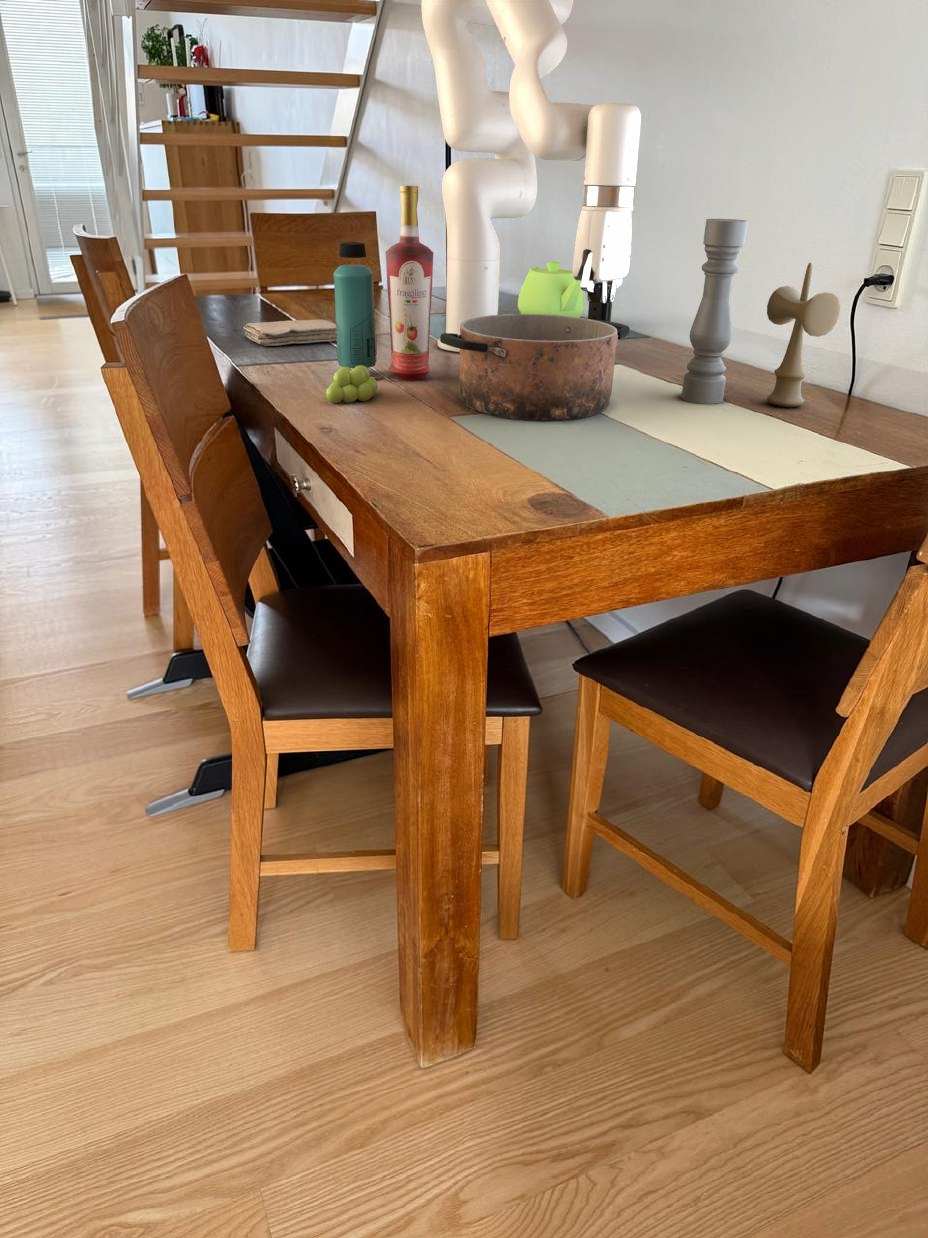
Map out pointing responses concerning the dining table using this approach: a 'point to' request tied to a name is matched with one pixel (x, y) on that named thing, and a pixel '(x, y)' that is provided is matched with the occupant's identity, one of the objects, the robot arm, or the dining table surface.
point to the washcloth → (291, 332)
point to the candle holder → (714, 312)
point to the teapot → (551, 292)
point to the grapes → (352, 385)
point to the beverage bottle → (354, 310)
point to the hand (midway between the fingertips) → (598, 327)
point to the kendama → (799, 333)
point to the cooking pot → (536, 365)
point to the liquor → (409, 294)
